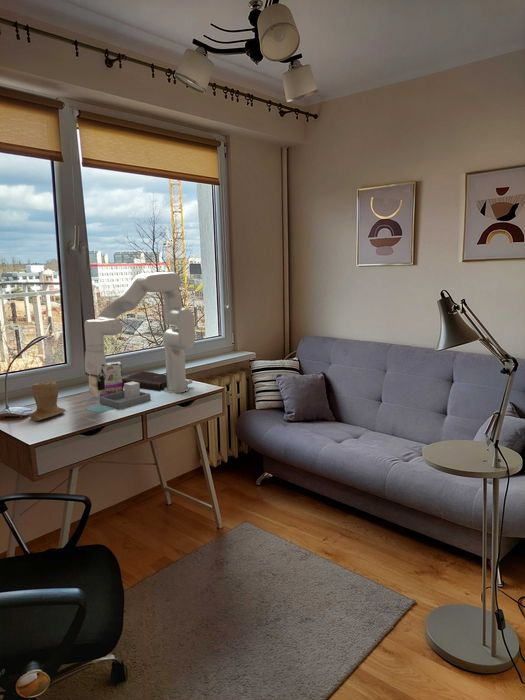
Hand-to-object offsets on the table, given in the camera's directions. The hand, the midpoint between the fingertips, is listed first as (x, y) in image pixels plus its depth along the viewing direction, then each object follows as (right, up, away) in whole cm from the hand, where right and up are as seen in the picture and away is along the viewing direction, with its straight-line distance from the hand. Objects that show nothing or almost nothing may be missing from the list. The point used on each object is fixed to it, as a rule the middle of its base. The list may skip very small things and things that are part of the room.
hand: (97, 388), depth 219 cm
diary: (+13, -2, +45) cm, 47 cm away
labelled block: (0, -2, 0) cm, 2 cm away
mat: (0, -10, +2) cm, 10 cm away
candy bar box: (-1, -6, +24) cm, 25 cm away
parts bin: (+9, -8, +13) cm, 17 cm away
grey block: (+11, -7, +16) cm, 21 cm away
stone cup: (-20, -12, -6) cm, 24 cm away
